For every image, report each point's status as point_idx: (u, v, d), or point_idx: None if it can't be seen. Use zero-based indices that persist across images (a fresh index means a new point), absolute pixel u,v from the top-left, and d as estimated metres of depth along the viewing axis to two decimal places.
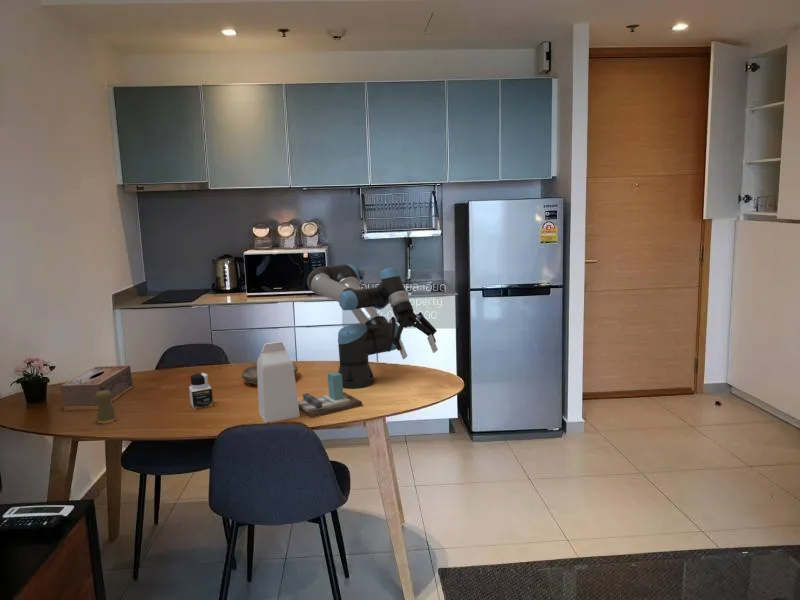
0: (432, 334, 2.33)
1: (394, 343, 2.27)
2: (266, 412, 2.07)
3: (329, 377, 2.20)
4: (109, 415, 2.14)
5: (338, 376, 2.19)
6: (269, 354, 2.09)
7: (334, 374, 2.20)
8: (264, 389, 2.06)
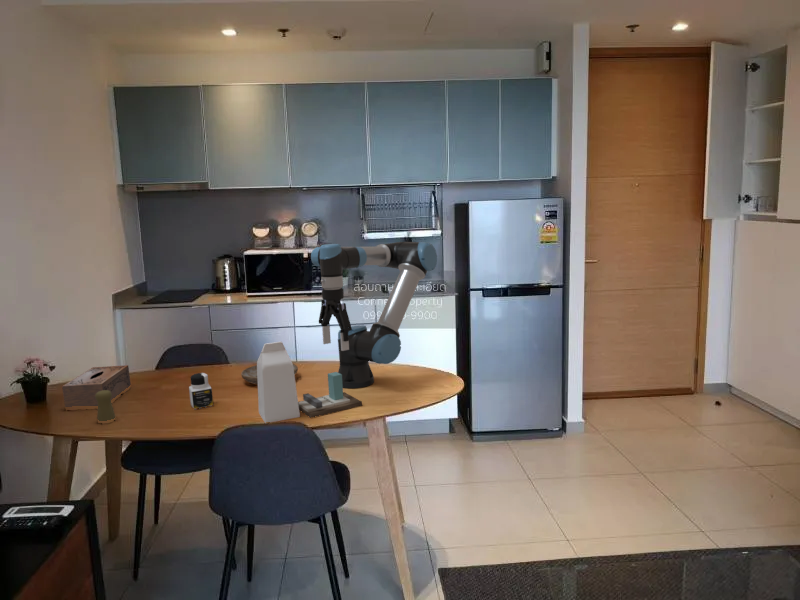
0: (343, 332, 2.11)
1: (327, 324, 2.25)
2: (266, 412, 2.07)
3: (329, 377, 2.20)
4: (109, 415, 2.14)
5: (338, 376, 2.19)
6: (269, 354, 2.09)
7: (334, 374, 2.20)
8: (264, 389, 2.06)
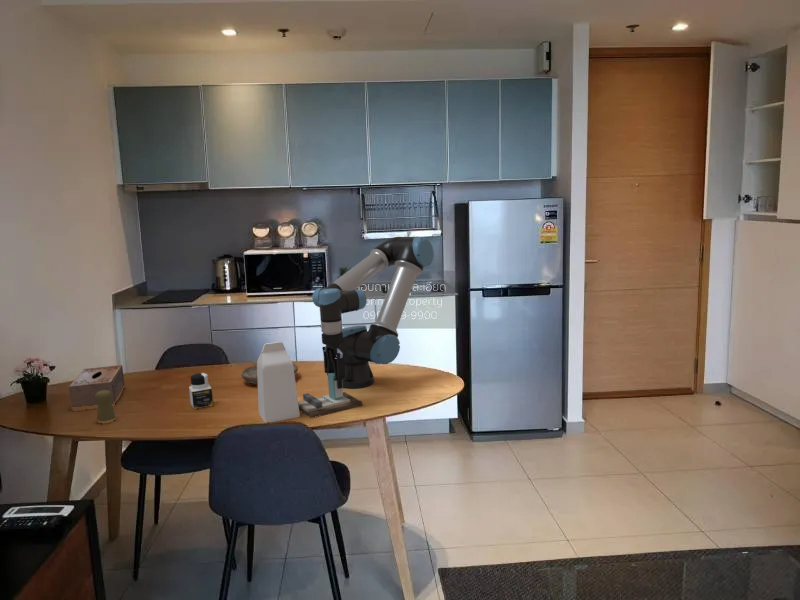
0: (337, 380, 2.17)
1: None
2: (266, 412, 2.07)
3: (329, 377, 2.20)
4: (109, 415, 2.14)
5: None
6: (269, 354, 2.09)
7: (334, 374, 2.20)
8: (264, 389, 2.06)
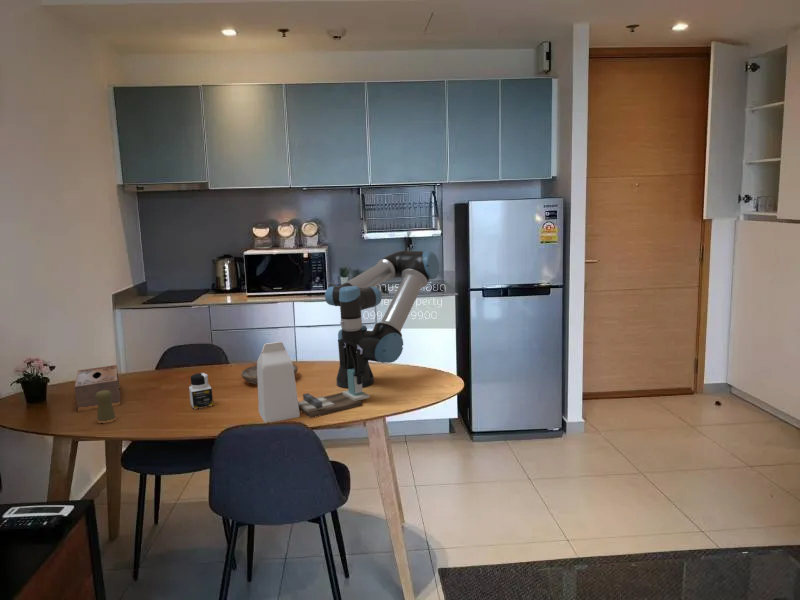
0: (356, 375, 2.22)
1: None
2: (266, 412, 2.07)
3: (349, 373, 2.25)
4: (109, 415, 2.14)
5: None
6: (269, 354, 2.09)
7: (354, 370, 2.24)
8: (264, 389, 2.06)
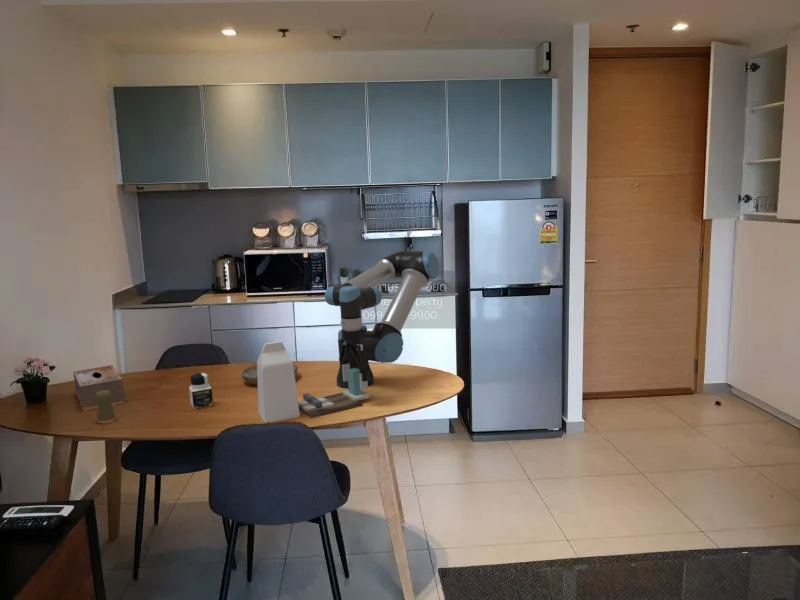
0: (362, 372, 2.17)
1: None
2: (266, 412, 2.07)
3: (349, 373, 2.25)
4: (109, 415, 2.14)
5: (358, 372, 2.23)
6: (269, 354, 2.09)
7: (354, 370, 2.24)
8: (264, 389, 2.06)
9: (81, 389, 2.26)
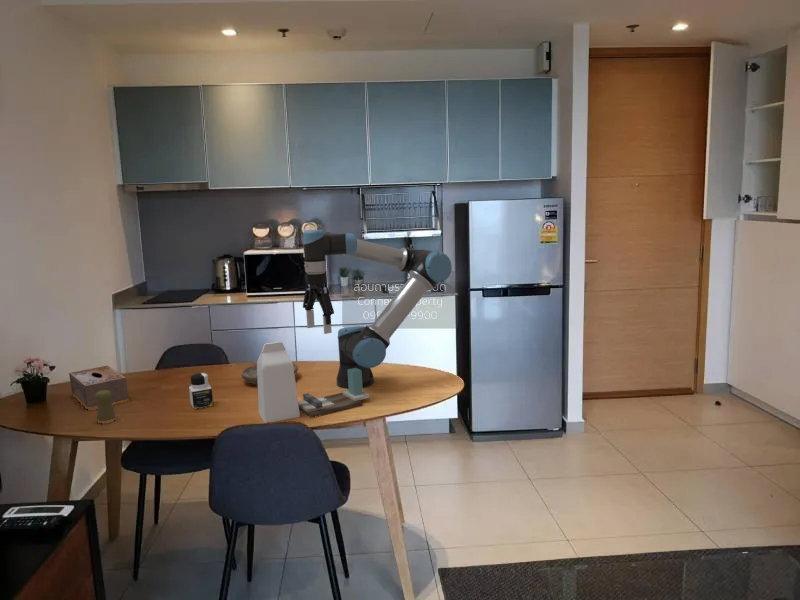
0: (326, 315, 2.16)
1: (311, 309, 2.30)
2: (266, 412, 2.07)
3: (349, 373, 2.25)
4: (109, 415, 2.14)
5: (358, 372, 2.23)
6: (269, 354, 2.09)
7: (354, 370, 2.24)
8: (264, 389, 2.06)
9: (86, 388, 2.26)
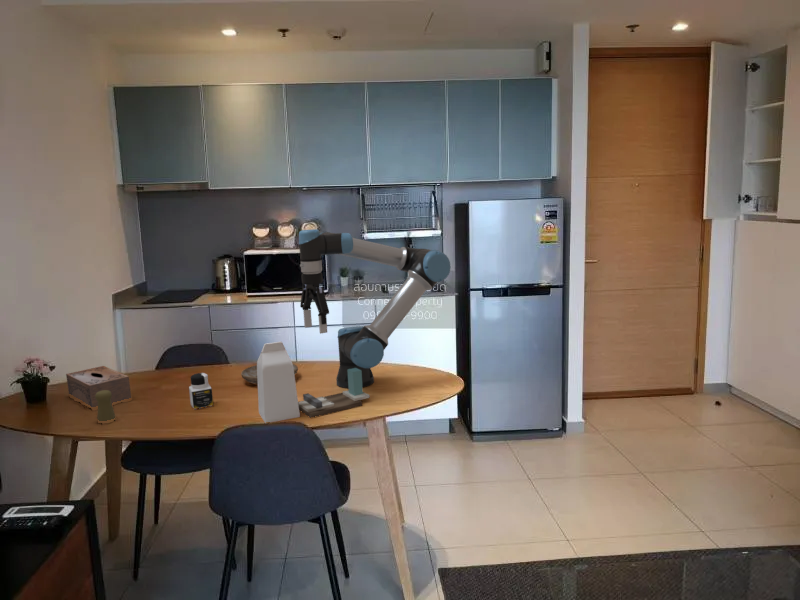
0: (321, 315, 2.16)
1: (308, 308, 2.31)
2: (266, 412, 2.07)
3: (349, 373, 2.25)
4: (109, 415, 2.14)
5: (358, 372, 2.23)
6: (269, 354, 2.09)
7: (354, 370, 2.24)
8: (264, 389, 2.06)
9: (91, 388, 2.27)
